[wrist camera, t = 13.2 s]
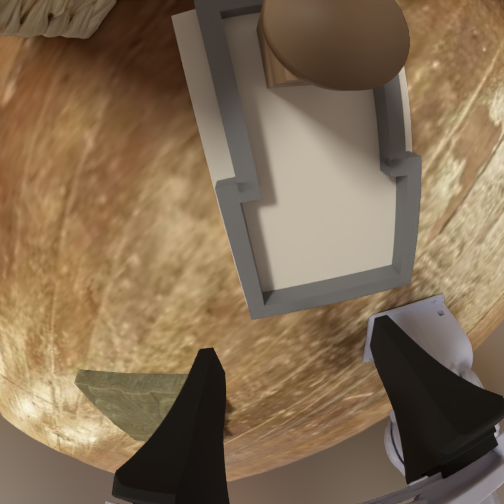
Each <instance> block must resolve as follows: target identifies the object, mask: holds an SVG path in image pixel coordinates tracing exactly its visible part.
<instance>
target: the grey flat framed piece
mask: <svg viewBox="0 0 504 504" xmlns="http://www.w3.org/2000/svg"><path fill="white" fill-rule="evenodd" d="M193 1H194V5H195V9H193V10H190V11H186V12H183V13H179V14H176V15H173V16H171V17H172V22H173V26H174V30H175V35H176V39H177V43H178V48H179V52H180V56H181V60H182V65H183V69H184V73H185V77H186V81H187V85H188V89H189V94H190V98H191V102H192V106H193V110H194V114H195V118H196V121H197V125H198V129H199V133H200V137H201V141H202V145H203V149H204V153H205V156H206V160H207V164H208V168H209V172H210V175H211V179H212V183H213V186H214V190H215V194H216V198H217V201H218V205H219V209H220V212H221V216H222V220H223V223H224V227H225V230H226V234H227V237H228V241H229V245H230V248H231V252H232V255H233V259H234V262H235V266H236V269H237V273H238V276H239V280H240V283H241V287H242V290H243V293H244V297H245V300H246V304H247V307H248V308H249V312H250V315H251V319H252V320H253V319H259V318H265V317H270V316H275V315H281V314H286V313H291V312H296V311H301V310H306V309H310V308H315V307H320V306H324V305H329V304H333V303H338V302H342V301H346V300H350V299H354V298H359V297H363V296H367V295H370V294H374V293H378V292H382V291H386V290H389V289H393V288H397V287H400V286H404V285H407V284H410V282H411V276H412V270H413V264H414V257H415V250H416V242H417V234H418V224H419V212H420V197H421V156H419V155H417V154H415V153H412V133H411V118H410V107H409V98H408V89H407V82H406V75H405V69H404V67H403V68H402V69H401V71H400V72H399V73H398V74H397V75H396V76H395V78H393V79H392V80H391V81H389V82H388V83H386V84H384V85H382V86H380V87H377V88H374V89H369V90H360V91H334V90H328V89H324V88H320V87H316V86H314V85H302V86H289V87H278V88H269V89H267V87H266V81H265V75H264V69H263V64H262V58H261V52H260V47H259V42H258V36H257V31H256V28H257V24H258V20H259V16H260V13H261V9H262V5H263V2H264V0H193Z"/></svg>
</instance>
